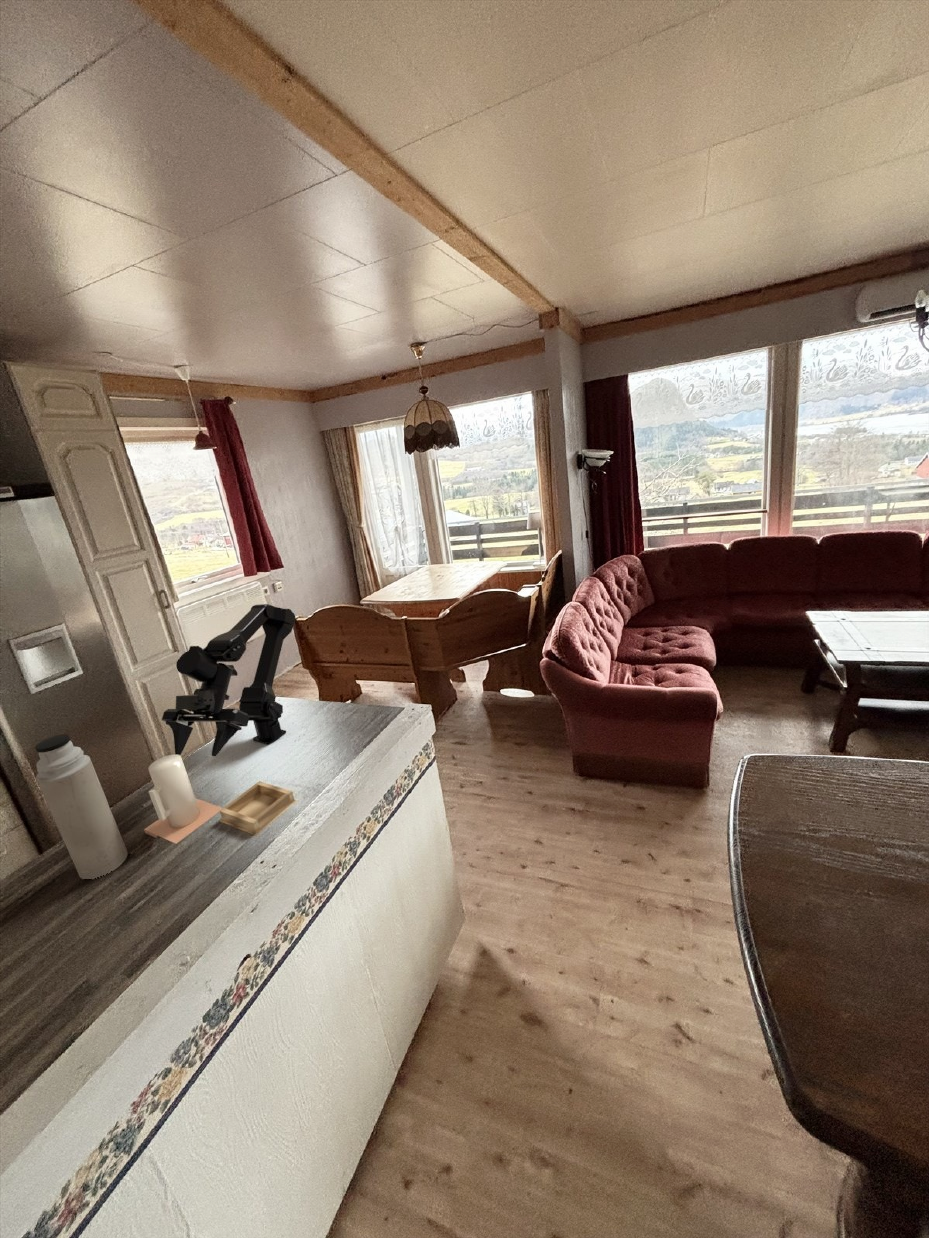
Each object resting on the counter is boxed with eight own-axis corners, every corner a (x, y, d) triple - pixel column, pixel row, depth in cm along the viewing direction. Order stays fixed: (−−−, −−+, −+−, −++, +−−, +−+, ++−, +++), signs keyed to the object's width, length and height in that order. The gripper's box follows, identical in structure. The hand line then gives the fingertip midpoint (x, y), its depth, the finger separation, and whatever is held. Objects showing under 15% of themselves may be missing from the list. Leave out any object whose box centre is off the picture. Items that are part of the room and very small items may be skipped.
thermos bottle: (101, 848, 101) (51, 729, 92) (137, 847, 100) (90, 727, 91) (68, 880, 94) (11, 753, 85) (106, 880, 93) (52, 752, 84)
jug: (183, 807, 110) (163, 754, 105) (206, 808, 108) (187, 754, 104) (155, 834, 102) (132, 778, 97) (180, 836, 101) (158, 779, 96)
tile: (145, 833, 104) (144, 829, 104) (193, 800, 113) (191, 796, 113) (177, 847, 99) (175, 843, 99) (224, 812, 108) (223, 808, 108)
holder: (220, 824, 104) (216, 811, 103) (263, 792, 114) (259, 779, 113) (257, 839, 99) (253, 825, 98) (298, 803, 108) (295, 790, 107)
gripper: (154, 677, 111) (131, 748, 104) (228, 676, 107) (208, 749, 101) (188, 692, 121) (169, 757, 114) (257, 691, 117) (240, 759, 111)
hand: (195, 755), depth 110 cm, fingers open, 9 cm apart
